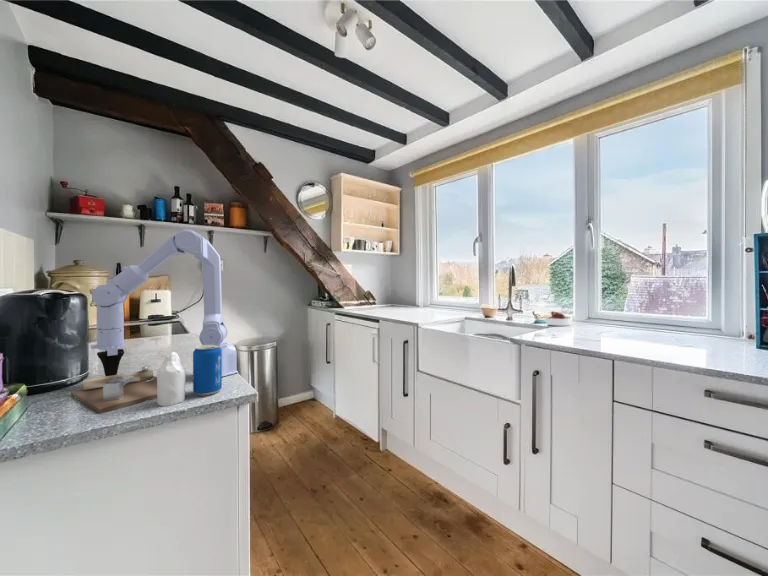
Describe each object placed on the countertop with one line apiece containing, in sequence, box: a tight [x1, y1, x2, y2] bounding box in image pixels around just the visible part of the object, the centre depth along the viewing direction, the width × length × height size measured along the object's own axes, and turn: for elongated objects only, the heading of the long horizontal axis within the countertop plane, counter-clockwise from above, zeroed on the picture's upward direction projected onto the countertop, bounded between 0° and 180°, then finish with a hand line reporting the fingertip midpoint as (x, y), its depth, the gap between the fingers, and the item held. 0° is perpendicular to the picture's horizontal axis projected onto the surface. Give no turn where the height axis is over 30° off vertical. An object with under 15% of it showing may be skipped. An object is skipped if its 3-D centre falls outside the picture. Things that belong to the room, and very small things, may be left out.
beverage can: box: [192, 344, 223, 397], centre depth 82 cm, size 6×6×12 cm
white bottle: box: [156, 351, 187, 407], centre depth 76 cm, size 6×12×6 cm
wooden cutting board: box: [70, 375, 157, 414], centre depth 81 cm, size 17×20×1 cm
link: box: [82, 369, 154, 390], centre depth 85 cm, size 14×4×2 cm, turn 133°
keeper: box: [103, 365, 154, 401], centre depth 82 cm, size 17×4×4 cm, turn 12°
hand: (111, 376), depth 88 cm, fingers closed
